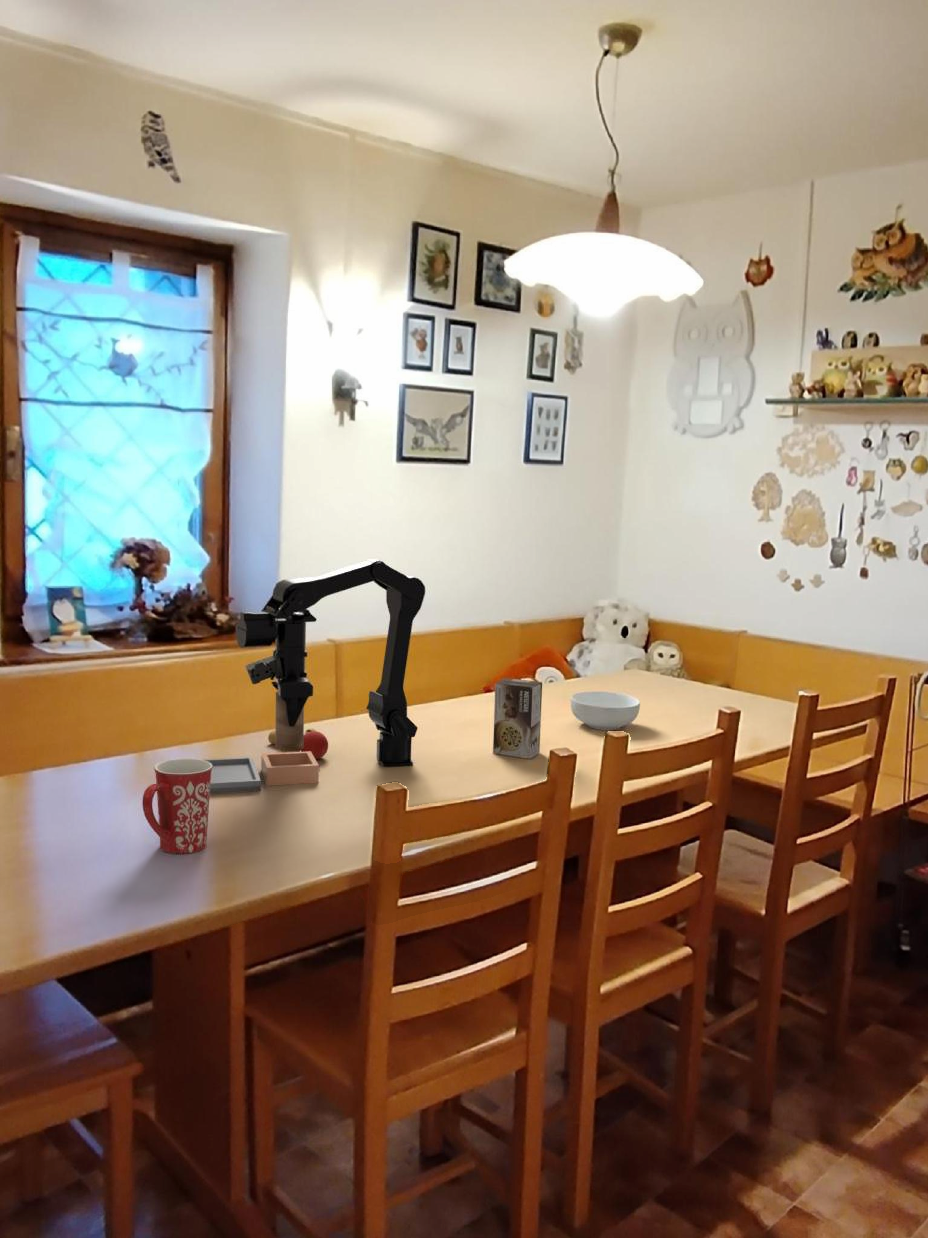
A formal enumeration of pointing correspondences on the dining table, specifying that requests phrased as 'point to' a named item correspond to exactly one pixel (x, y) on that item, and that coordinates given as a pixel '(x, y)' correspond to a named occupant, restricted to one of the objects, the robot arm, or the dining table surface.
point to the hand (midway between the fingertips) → (289, 722)
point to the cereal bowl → (604, 709)
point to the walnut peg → (288, 729)
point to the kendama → (309, 743)
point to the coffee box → (517, 718)
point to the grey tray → (234, 775)
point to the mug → (180, 804)
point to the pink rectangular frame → (289, 768)
